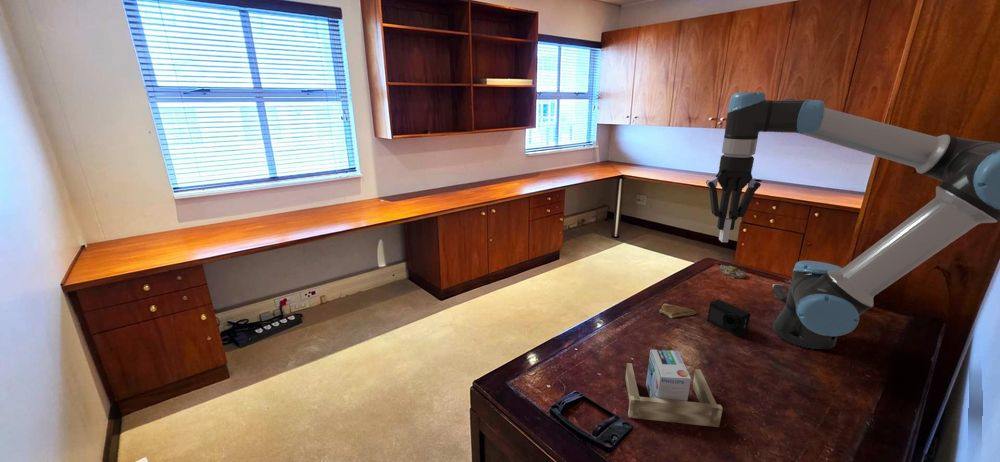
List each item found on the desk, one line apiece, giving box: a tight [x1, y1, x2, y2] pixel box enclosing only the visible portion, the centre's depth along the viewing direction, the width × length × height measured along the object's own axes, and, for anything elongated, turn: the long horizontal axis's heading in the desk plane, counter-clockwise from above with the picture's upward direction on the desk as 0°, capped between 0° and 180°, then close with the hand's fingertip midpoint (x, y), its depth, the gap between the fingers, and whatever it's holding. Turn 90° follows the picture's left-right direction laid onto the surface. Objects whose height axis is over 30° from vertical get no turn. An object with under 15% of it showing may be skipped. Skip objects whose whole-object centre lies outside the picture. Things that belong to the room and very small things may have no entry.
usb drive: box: [771, 283, 790, 302], centre depth 144 cm, size 5×12×3 cm, turn 164°
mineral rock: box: [719, 264, 747, 279], centre depth 163 cm, size 11×4×8 cm
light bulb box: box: [645, 349, 692, 401], centre depth 94 cm, size 11×7×11 cm, turn 173°
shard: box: [659, 303, 699, 319], centre depth 133 cm, size 11×8×2 cm
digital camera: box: [706, 299, 751, 338], centre depth 125 cm, size 10×5×7 cm, turn 29°
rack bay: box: [624, 362, 723, 428], centre depth 95 cm, size 19×13×5 cm
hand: (723, 240), depth 112 cm, fingers closed
